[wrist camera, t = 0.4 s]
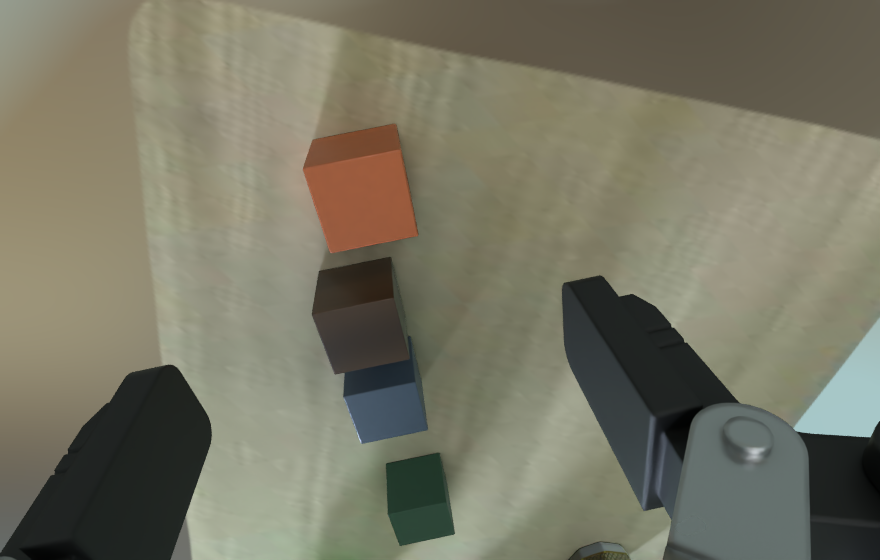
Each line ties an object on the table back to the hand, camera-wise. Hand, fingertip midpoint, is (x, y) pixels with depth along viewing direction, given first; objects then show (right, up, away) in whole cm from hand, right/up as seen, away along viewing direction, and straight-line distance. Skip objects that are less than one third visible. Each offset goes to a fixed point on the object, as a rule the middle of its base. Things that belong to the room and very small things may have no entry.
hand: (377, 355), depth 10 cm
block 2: (-4, +1, +21) cm, 22 cm away
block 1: (-3, +8, +17) cm, 19 cm away
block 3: (-3, -5, +25) cm, 26 cm away
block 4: (-1, -15, +32) cm, 36 cm away
